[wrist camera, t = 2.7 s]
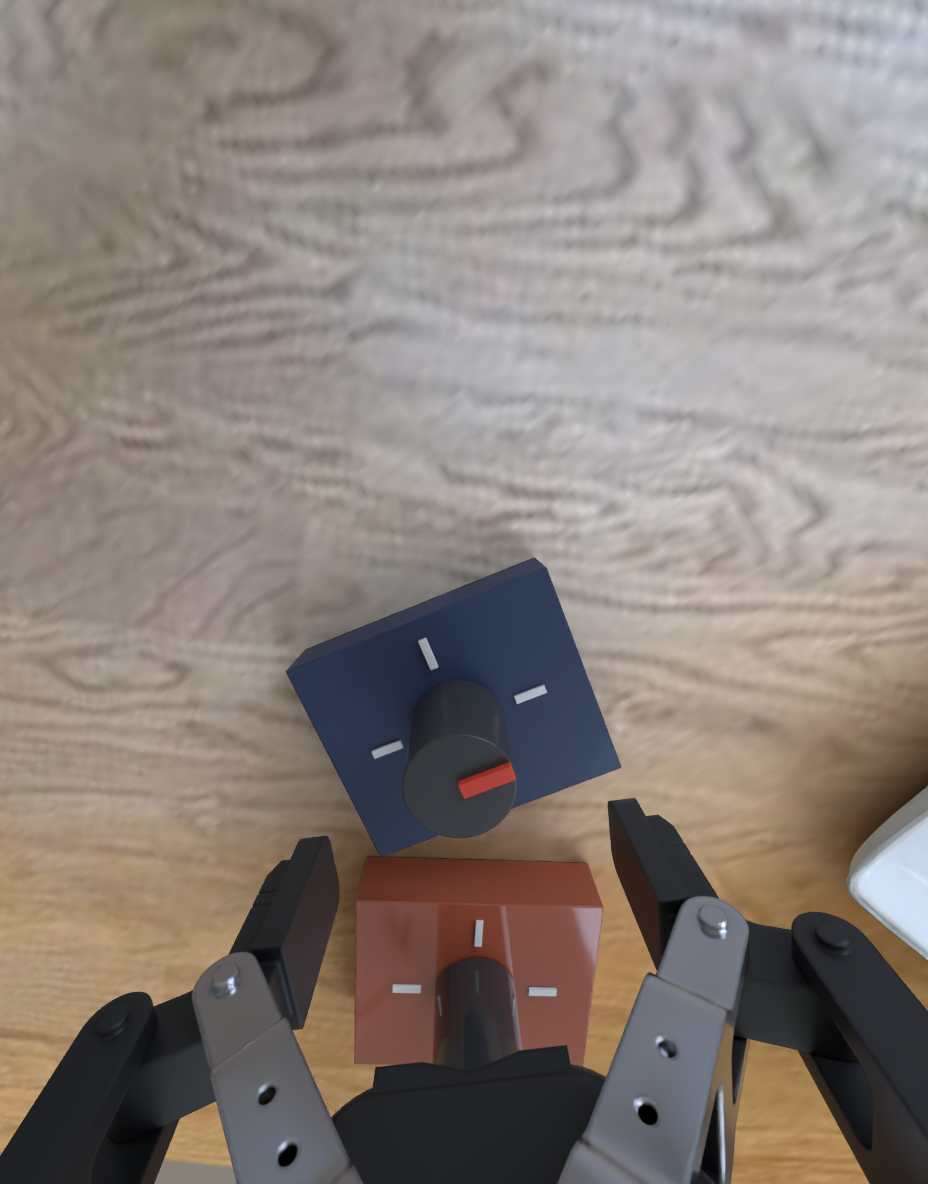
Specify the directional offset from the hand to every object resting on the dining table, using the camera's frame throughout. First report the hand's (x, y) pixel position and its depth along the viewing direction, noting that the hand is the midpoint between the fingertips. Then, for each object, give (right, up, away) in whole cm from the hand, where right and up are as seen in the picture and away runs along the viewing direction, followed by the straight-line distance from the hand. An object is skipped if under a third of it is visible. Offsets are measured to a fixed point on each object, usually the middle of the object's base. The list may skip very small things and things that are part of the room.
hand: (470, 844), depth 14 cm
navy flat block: (0, +2, +11) cm, 11 cm away
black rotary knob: (0, +1, +8) cm, 8 cm away
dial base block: (0, -12, +14) cm, 19 cm away
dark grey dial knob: (0, -13, +11) cm, 17 cm away
